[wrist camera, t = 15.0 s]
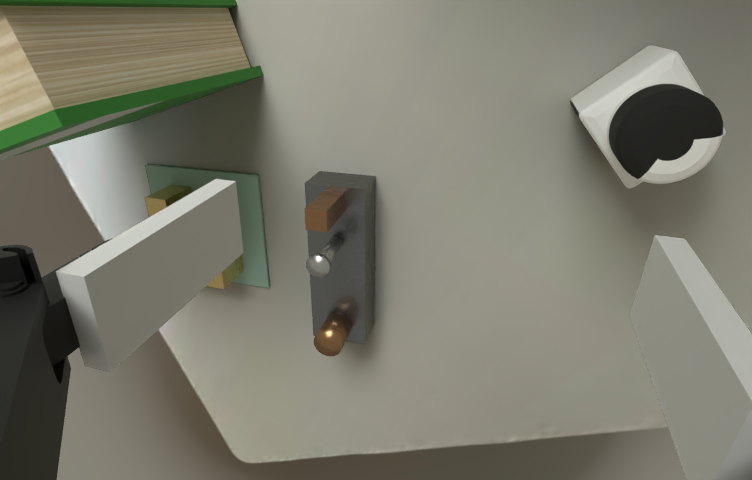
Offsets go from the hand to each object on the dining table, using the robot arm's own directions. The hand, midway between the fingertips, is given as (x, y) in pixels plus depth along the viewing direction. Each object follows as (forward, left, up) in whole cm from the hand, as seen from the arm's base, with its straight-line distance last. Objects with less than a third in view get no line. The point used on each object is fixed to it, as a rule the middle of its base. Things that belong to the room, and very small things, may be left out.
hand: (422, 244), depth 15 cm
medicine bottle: (0, +12, -32) cm, 34 cm away
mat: (+16, -30, -32) cm, 46 cm away
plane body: (+17, -13, -32) cm, 38 cm away
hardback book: (-2, -31, -32) cm, 44 cm away
